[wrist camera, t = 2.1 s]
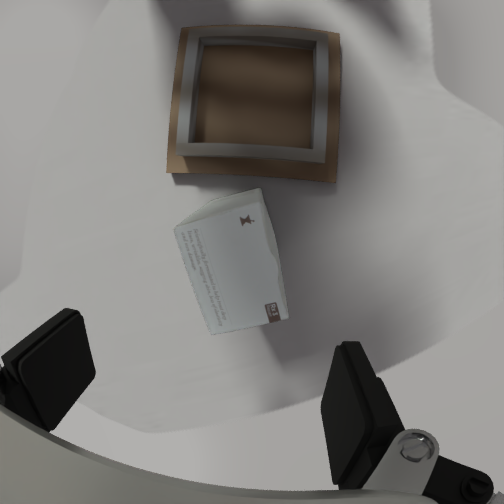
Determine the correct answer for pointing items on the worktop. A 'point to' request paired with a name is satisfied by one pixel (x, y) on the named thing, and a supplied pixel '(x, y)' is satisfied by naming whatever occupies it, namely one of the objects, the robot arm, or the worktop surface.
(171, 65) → the worktop surface
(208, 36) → the tray
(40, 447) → the robot arm
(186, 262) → the skincare box
